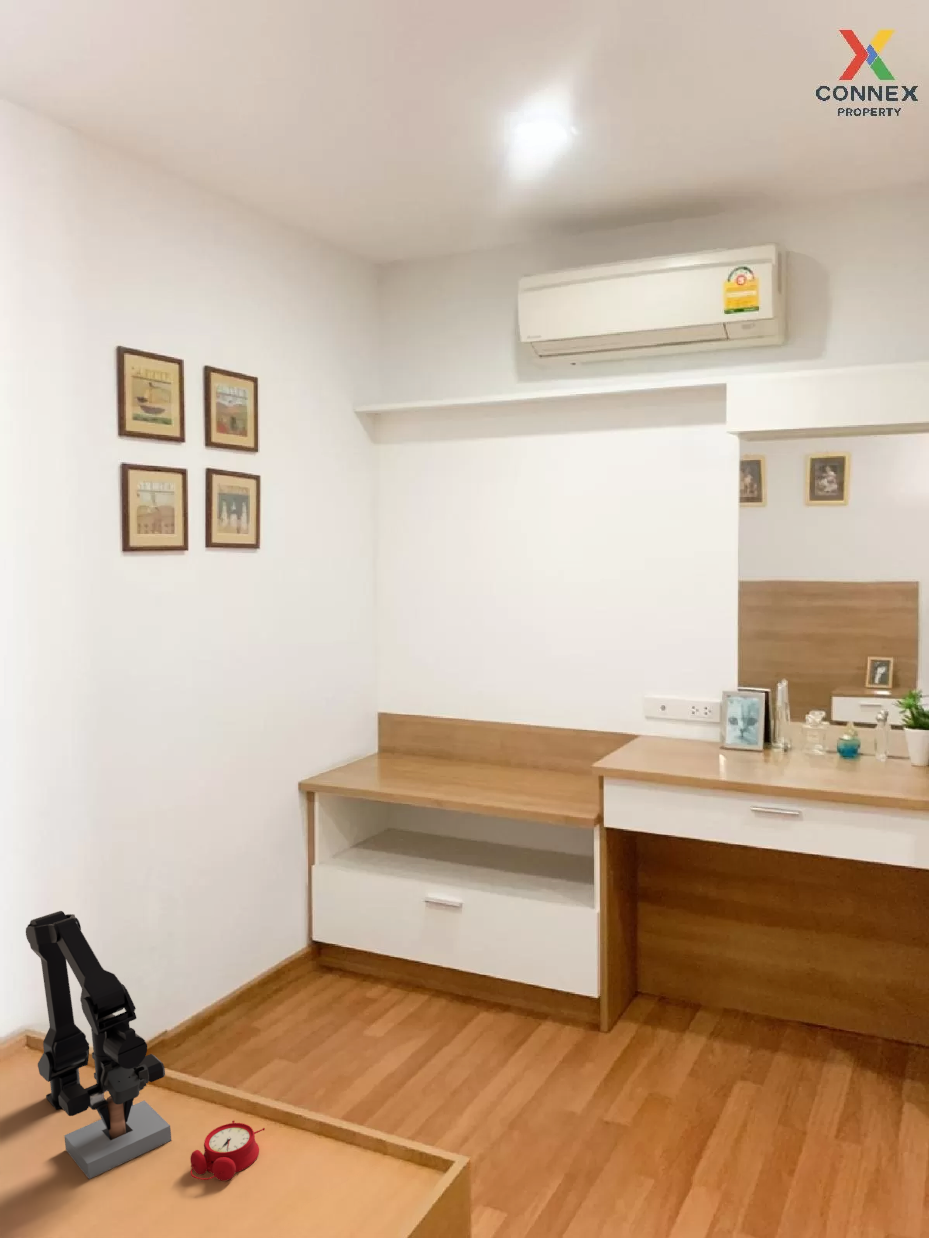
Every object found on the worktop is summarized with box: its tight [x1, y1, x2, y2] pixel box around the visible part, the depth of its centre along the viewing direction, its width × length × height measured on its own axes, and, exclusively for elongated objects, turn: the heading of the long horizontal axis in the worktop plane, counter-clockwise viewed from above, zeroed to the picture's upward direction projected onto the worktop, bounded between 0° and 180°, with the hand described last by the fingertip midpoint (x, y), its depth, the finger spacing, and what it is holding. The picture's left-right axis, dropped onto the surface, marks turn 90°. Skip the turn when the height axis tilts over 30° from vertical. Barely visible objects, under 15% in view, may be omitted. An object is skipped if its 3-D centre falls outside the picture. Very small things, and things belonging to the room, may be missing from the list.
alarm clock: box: [189, 1120, 266, 1182], centre depth 187 cm, size 10×6×15 cm
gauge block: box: [63, 1100, 172, 1180], centre depth 194 cm, size 12×16×3 cm
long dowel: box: [105, 1095, 126, 1140], centre depth 193 cm, size 3×3×8 cm
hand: (116, 1125), depth 193 cm, fingers closed on long dowel, 3 cm apart
